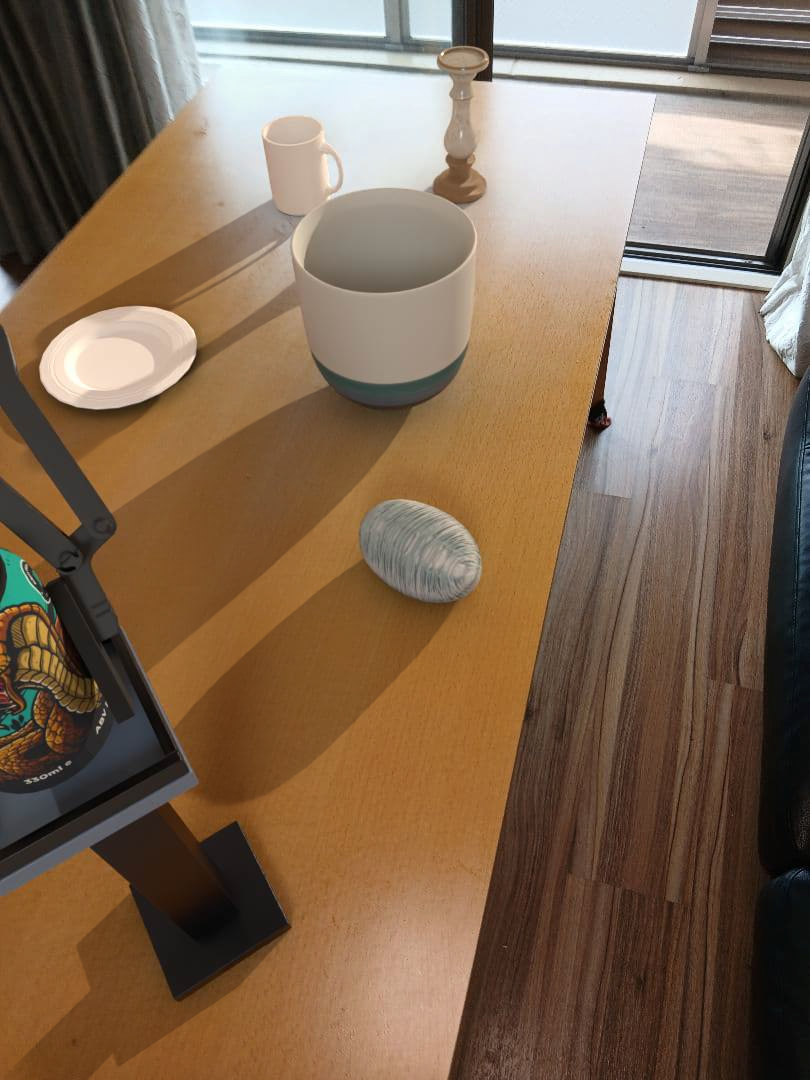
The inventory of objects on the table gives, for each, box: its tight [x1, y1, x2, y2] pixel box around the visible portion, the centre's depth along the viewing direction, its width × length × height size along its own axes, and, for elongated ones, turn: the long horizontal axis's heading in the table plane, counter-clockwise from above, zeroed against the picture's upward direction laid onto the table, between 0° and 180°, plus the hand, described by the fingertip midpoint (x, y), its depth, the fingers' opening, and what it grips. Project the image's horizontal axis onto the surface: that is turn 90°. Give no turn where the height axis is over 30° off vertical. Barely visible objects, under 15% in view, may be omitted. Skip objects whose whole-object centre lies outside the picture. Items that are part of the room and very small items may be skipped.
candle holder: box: [432, 45, 490, 204], centre depth 126 cm, size 9×9×20 cm
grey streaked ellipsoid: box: [358, 498, 483, 604], centre depth 85 cm, size 14×10×10 cm
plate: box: [38, 305, 198, 411], centre depth 109 cm, size 21×21×2 cm
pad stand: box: [0, 625, 292, 1003], centre depth 54 cm, size 10×10×36 cm
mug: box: [261, 114, 344, 217], centre depth 128 cm, size 10×12×12 cm
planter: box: [289, 187, 478, 412], centre depth 97 cm, size 20×20×21 cm
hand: (39, 757), depth 35 cm, fingers closed on beverage can, 7 cm apart
